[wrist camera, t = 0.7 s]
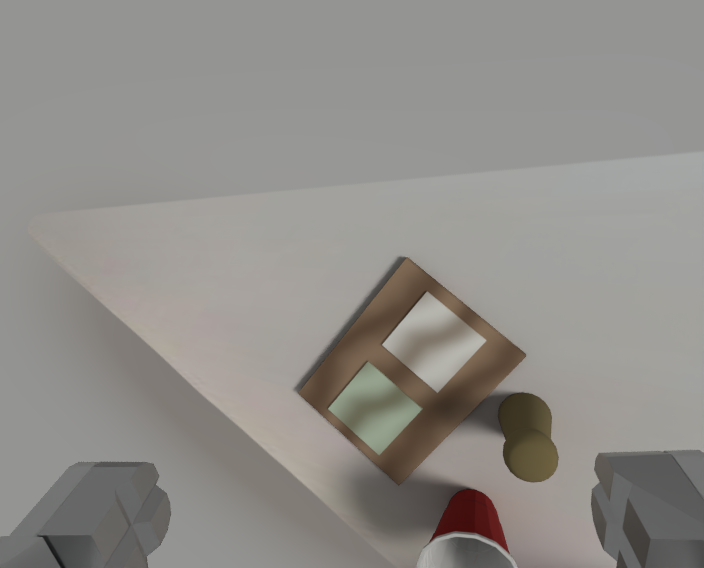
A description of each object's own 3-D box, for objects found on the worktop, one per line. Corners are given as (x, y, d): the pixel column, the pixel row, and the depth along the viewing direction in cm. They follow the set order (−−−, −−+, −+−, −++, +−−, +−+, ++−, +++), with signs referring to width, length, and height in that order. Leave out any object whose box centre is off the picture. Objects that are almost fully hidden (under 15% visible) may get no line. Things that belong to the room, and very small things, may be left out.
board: (525, 353, 53) (526, 357, 52) (400, 481, 60) (398, 486, 59) (407, 257, 56) (405, 258, 55) (301, 390, 63) (297, 393, 62)
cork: (487, 411, 55) (485, 455, 45) (527, 382, 54) (535, 422, 43) (521, 449, 55) (527, 504, 44) (563, 422, 53) (579, 472, 43)
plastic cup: (464, 563, 59) (457, 644, 48) (414, 494, 60) (395, 559, 49) (537, 528, 56) (547, 608, 44) (482, 456, 56) (479, 516, 45)
